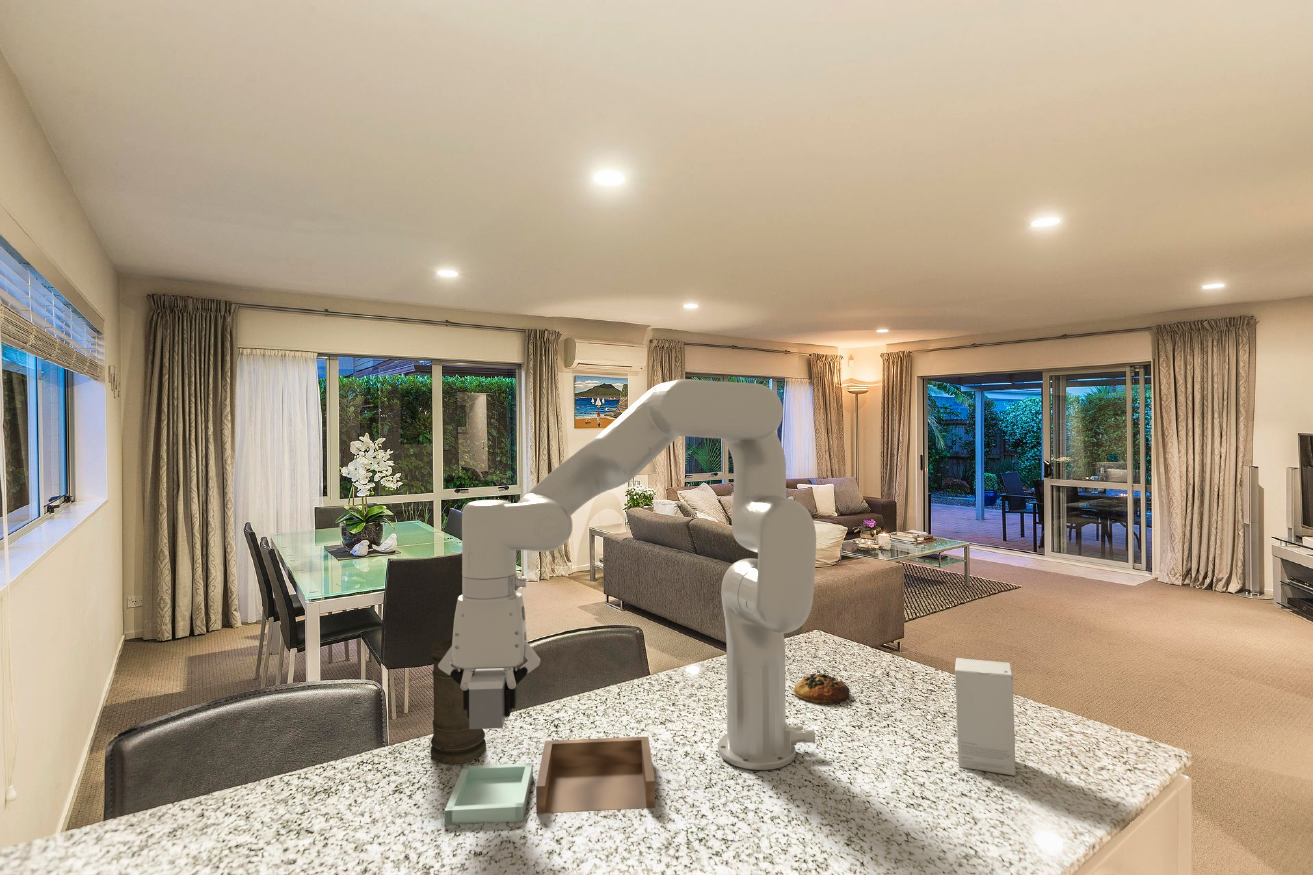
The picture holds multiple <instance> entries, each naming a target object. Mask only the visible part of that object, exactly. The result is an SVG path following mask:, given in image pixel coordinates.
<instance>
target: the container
mask: <svg viewBox="0 0 1313 875" xmlns="http://www.w3.org/2000/svg"><path fill="white" fill-rule="evenodd" d="M452 640H453V637H451V638H447V639H446V638H445V639H442V640H438V641H436V642H434V643H433V644H432V645H431V647H430V650H429V651H430V654H431V656H432V658H431V659H432V662H433V670H432V672H431V673H432V675H433V676H432V678H433V679H432V680H433V684H432V686H433V688H432V689H433V690H432V691H433V719H432V728H433V729H432V730H433V735H432V738H431V739H430V744H431V747H430V750H429V752H430V756H431V759H432V760H433V761H435V762H437V763H439V764H447V765H448V764H449V765H457V764H465V763H468V762H471V761H473V760H474V759H476V758H478V757H479V756H482V755H483V753H484V752H486V748H487V742H486V739H485V737H486V733H485V731H484V729H469V718H467V710H464V709H463V690H462V689H461V687H460V685H459V684H458V683H457V682H456V681H455V680H454V679H453V678H451V676H450V675H449V674H447V673H445V672H444V671H442V670H441V669H439V667H438V664H439V663H440V661H441V660H442V659H443V657H444V656H445V655H446V653H447V652H448V650H449V649H450V648H451V646H452ZM452 663H453V662H452ZM462 670H463V671H464V669H462ZM475 670H476V669H475Z"/></svg>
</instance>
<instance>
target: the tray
mask: <svg viewBox="0 0 1313 875" xmlns="http://www.w3.org/2000/svg"><path fill="white" fill-rule="evenodd" d="M533 766H534V763H533V762H530V763H529V762H525V763H524V762H522V763H505V764H504V763H503V764H483V765H482V764H480V765H463V766H462V769H461V771H460V773H459V776H458V777H457V781H456V783H455V785H454V788H453V790H452V792H451V795H450V796H449V799H448V801H447V804H446V806H445V809H444V827H446V826H448V825H449V826H450V825H451V826H452V825H454V826H455V825H470V824H472V825H474V824H475V825H476V824H491V823H492V824H493V823H511V822H514V823H516V822H523V821H524V818H525V814H526V810H527V805H528V800H529V796H530V790H531V786H532V781H533V776H534V767H533Z"/></svg>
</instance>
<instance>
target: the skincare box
mask: <svg viewBox="0 0 1313 875" xmlns="http://www.w3.org/2000/svg"><path fill="white" fill-rule="evenodd" d="M954 666H955V667H954V678H955V703H956V704H955V706H956V707H955V708H956V710H955V711H956V733H957V734H956V737H957V739H956V740H957V760H958V762H957V763H958V768H963V769H969V770H975V771H982V772H989V773H995V774H1003V775H1007V776H1008V775H1009V776H1016V774H1017V773H1016V742H1015V741H1016V737H1015V736H1016V735H1015V715H1014V714H1015V712H1014V711H1015V710H1014V709H1015V708H1014V706H1015V705H1014V682H1013V679H1014V675H1013V670H1012V666H1011V663H1010V662H1007V661H1006V662H1002V661H995V660H994V661H992V660H984V659H983V660H981V659H973V658H972V659H970V658H961V657H956V658H955V665H954Z"/></svg>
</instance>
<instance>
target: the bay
mask: <svg viewBox="0 0 1313 875" xmlns="http://www.w3.org/2000/svg"><path fill="white" fill-rule="evenodd" d="M649 738H650V737H649V736H632V737H631V736H629V737H626V736H625V737H607V738H606V737H604V738H603V737H602V738H580V739H579V738H577V739H558V740H556V739H555V740H545V741H544V743H543V748H542V749H543V750H542V754H541V759H540V764H539V770H538V775H537V780H536V784H535V803H536V804H535V808H536V809H535V810H536V811H535V813H536V814H539V815H540V814H552V813H553V814H557V813H574V812H596V811H615V810H637V809H638V810H639V809H640V810H641V809H655V808H656V798H655V797H656V791H655V790H656V789H655V788H656V780H655V773H654V768H653V761H652V760H653V759H652V753H651V745H650V739H649Z"/></svg>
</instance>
